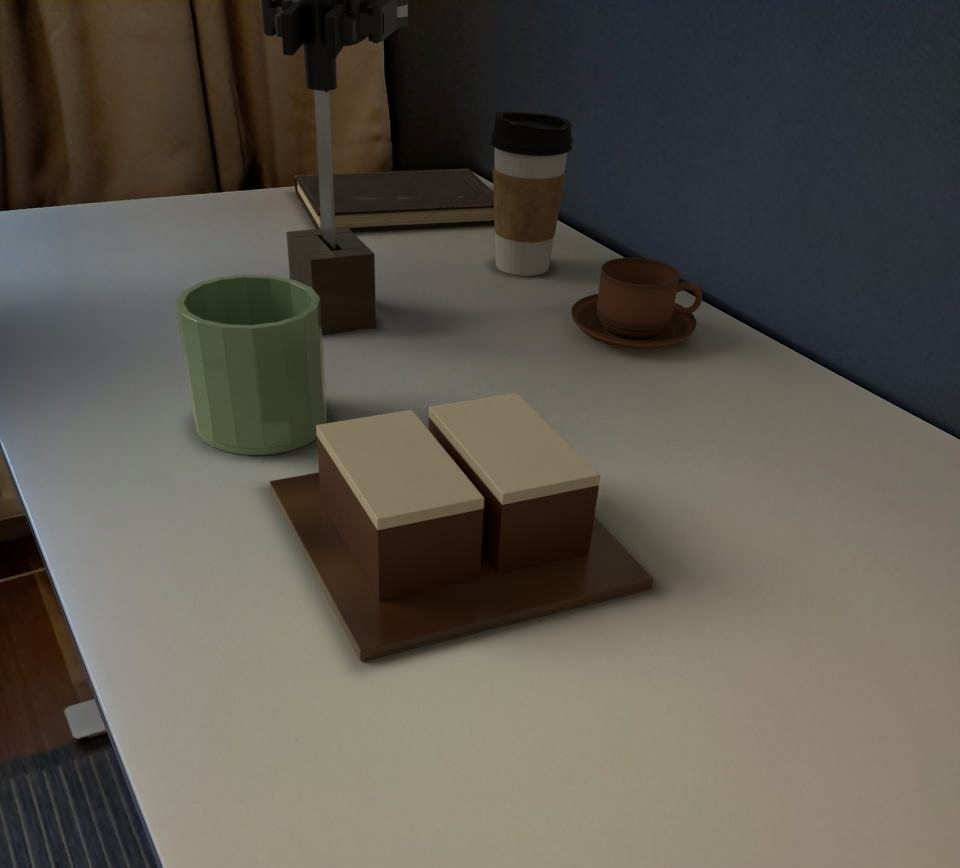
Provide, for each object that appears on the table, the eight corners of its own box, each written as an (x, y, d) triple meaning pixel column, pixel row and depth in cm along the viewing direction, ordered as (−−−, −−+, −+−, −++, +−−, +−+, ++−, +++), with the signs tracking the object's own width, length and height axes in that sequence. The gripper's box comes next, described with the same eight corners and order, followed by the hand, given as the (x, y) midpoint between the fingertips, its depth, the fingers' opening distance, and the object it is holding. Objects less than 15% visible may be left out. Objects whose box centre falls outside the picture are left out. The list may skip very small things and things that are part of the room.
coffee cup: (471, 257, 109) (478, 108, 99) (538, 250, 112) (550, 104, 102) (504, 284, 103) (514, 129, 94) (573, 275, 106) (590, 124, 97)
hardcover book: (505, 223, 119) (507, 204, 117) (318, 234, 113) (317, 213, 111) (467, 185, 130) (467, 167, 129) (295, 193, 124) (293, 173, 123)
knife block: (291, 304, 96) (286, 231, 92) (349, 297, 99) (346, 225, 94) (315, 335, 91) (310, 260, 87) (376, 328, 93) (374, 253, 89)
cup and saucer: (659, 306, 101) (669, 245, 97) (714, 355, 92) (728, 290, 88) (551, 315, 98) (557, 252, 94) (598, 366, 89) (607, 299, 85)
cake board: (270, 490, 70) (269, 480, 70) (518, 445, 77) (519, 435, 77) (360, 662, 57) (360, 651, 56) (652, 588, 63) (654, 578, 63)
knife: (309, 240, 91) (292, -46, 77) (336, 237, 92) (324, -45, 78) (321, 252, 89) (305, -40, 75) (348, 250, 90) (338, -40, 75)
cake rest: (320, 502, 68) (315, 424, 64) (411, 485, 70) (412, 409, 66) (379, 601, 60) (377, 519, 56) (480, 578, 62) (485, 497, 58)
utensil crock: (184, 404, 79) (164, 282, 73) (305, 386, 83) (296, 268, 76) (211, 464, 72) (192, 335, 66) (343, 442, 76) (337, 317, 70)
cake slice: (427, 482, 71) (428, 406, 67) (511, 466, 73) (517, 392, 69) (497, 574, 62) (503, 494, 59) (589, 553, 65) (601, 474, 61)
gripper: (426, 45, 95) (410, 97, 78) (266, 35, 95) (212, 85, 77) (427, -49, 91) (410, -16, 73) (258, -59, 90) (199, -29, 72)
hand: (308, 36), depth 75 cm, fingers closed on knife, 3 cm apart
